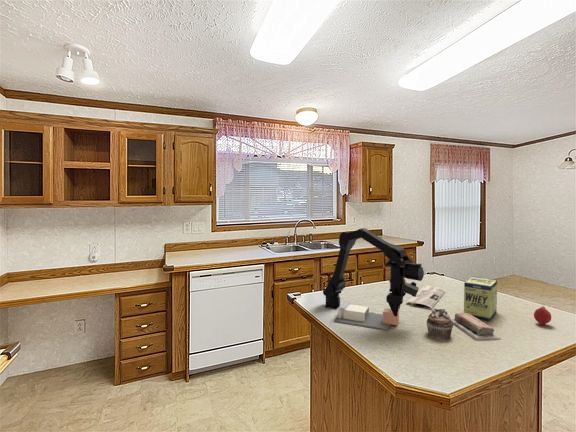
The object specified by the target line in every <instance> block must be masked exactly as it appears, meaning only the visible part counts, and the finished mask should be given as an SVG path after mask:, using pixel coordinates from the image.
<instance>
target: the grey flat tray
mask: <svg viewBox="0 0 576 432" xmlns="http://www.w3.org/2000/svg"><path fill="white" fill-rule="evenodd" d="M334 323H338V324H346V325H350V326H356V327H357V326H358V327H363V328H369V329H376V330H382V331H387V332H388V331H389V330H390V327H391V325H392V324H385V323H383V313H376V312H375V313H374V312H370V306H365V305H364V306H363V305H356V304H351V302H350V301H344V302H343V303H341V304H340V306H339V307H338V308H337V317H336V318H335V319H334Z"/></svg>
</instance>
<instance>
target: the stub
mask: <svg viewBox="0 0 576 432" xmlns="http://www.w3.org/2000/svg"><path fill="white" fill-rule="evenodd" d="M382 314H383V323H385V324H391V325H393V326H399V324H400V309H398V314H397V317H396V316H394V315H393V312H392V310H391V308H387V307H385V308H384V309H383V311H382Z"/></svg>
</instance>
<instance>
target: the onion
mask: <svg viewBox="0 0 576 432" xmlns="http://www.w3.org/2000/svg"><path fill="white" fill-rule="evenodd" d="M533 318H534V319H535V321H536V322H537V323H538V324H540V325H541V326H544V325H547V324H548V323H550V322H551V321H552V314H551V312H550V311H549V310H548V309H547V308H546V307H545V305H542V306H540V307H539V308H536V310H534V312H533Z"/></svg>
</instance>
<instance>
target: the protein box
mask: <svg viewBox="0 0 576 432" xmlns="http://www.w3.org/2000/svg"><path fill="white" fill-rule="evenodd" d="M463 289H464V290H463V291H464V292H463V313H469V314H471V315H472V316H474V317H476V318H477V319H479V320H480V321H486V322H491V320H492V319H493V318H494V316H495V315H496V314H497V309H498V308H497V306H498V280H497V279H493V278H485V277H479V276H472V277H470V278H469V279H468V280H466V281H465V282H464V286H463Z"/></svg>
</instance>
